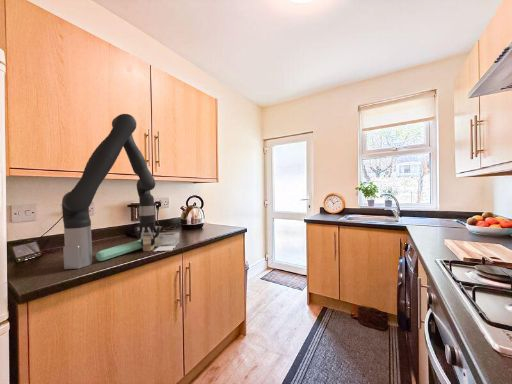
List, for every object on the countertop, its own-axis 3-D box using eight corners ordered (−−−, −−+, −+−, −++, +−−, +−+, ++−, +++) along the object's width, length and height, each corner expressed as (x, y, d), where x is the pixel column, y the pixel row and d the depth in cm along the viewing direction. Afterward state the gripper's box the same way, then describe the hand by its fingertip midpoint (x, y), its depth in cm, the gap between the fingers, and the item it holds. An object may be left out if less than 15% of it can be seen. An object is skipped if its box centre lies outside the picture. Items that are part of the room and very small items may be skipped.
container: (101, 251, 99) (147, 238, 122) (93, 249, 101) (139, 237, 124) (101, 264, 99) (147, 248, 122) (93, 262, 101) (140, 247, 124)
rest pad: (170, 251, 116) (170, 250, 116) (153, 252, 115) (153, 250, 115) (175, 246, 125) (175, 245, 125) (159, 247, 124) (159, 246, 124)
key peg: (150, 250, 117) (150, 232, 117) (143, 251, 117) (142, 232, 117) (153, 248, 121) (153, 230, 121) (146, 249, 121) (145, 231, 121)
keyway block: (174, 246, 126) (174, 235, 126) (148, 247, 125) (147, 236, 125) (179, 241, 136) (179, 232, 136) (154, 242, 135) (154, 233, 135)
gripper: (130, 215, 114) (131, 248, 115) (158, 214, 115) (159, 246, 116) (136, 213, 122) (137, 244, 122) (163, 213, 123) (164, 243, 123)
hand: (148, 245), depth 119 cm, fingers closed on key peg, 4 cm apart
